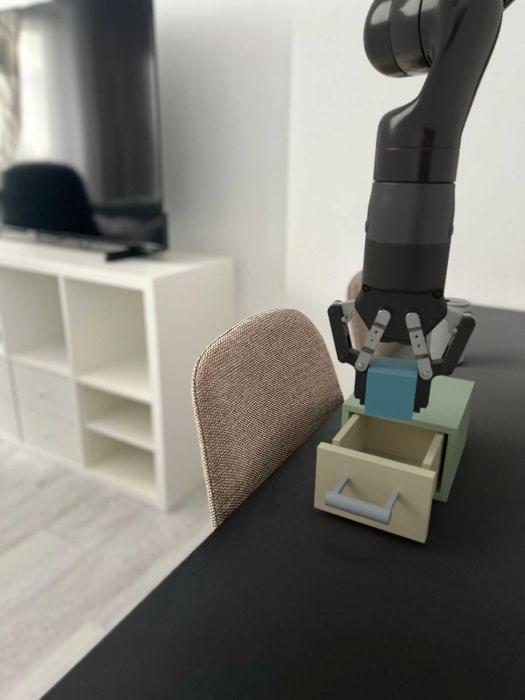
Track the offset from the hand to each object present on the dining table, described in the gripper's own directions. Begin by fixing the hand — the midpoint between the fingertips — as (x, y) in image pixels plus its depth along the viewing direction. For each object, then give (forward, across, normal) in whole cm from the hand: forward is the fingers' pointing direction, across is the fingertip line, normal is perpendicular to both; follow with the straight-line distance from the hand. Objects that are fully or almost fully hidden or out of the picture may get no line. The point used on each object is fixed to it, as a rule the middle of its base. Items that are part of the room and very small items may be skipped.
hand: (389, 405), depth 52 cm
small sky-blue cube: (0, 0, 0) cm, 0 cm away
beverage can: (+12, -7, -50) cm, 52 cm away
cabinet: (+12, -2, -11) cm, 16 cm away
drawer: (+11, 0, +1) cm, 11 cm away
